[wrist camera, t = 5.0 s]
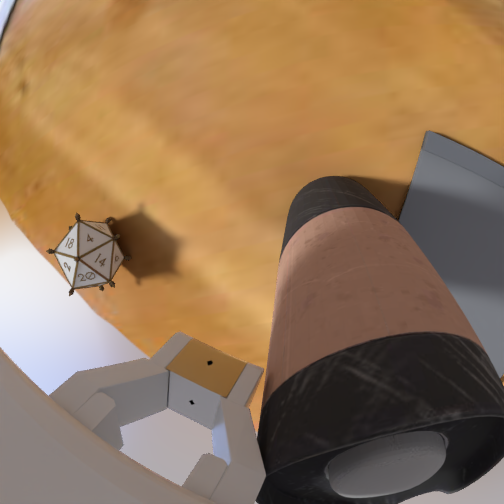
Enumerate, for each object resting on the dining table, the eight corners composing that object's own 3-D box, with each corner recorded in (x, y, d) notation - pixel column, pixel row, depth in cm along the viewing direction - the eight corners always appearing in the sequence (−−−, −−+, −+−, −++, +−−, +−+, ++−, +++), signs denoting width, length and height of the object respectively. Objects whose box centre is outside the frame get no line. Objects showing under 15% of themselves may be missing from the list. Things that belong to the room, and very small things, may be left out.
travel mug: (294, 162, 22) (280, 402, 4) (391, 184, 21) (569, 394, 4) (276, 254, 25) (231, 516, 7) (365, 271, 25) (425, 514, 7)
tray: (426, 130, 19) (429, 130, 18) (582, 221, 15) (588, 225, 14) (344, 342, 28) (343, 350, 27) (490, 386, 24) (493, 393, 22)
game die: (139, 220, 35) (126, 218, 26) (131, 290, 36) (117, 311, 26) (72, 212, 33) (39, 207, 23) (65, 280, 34) (33, 297, 24)
